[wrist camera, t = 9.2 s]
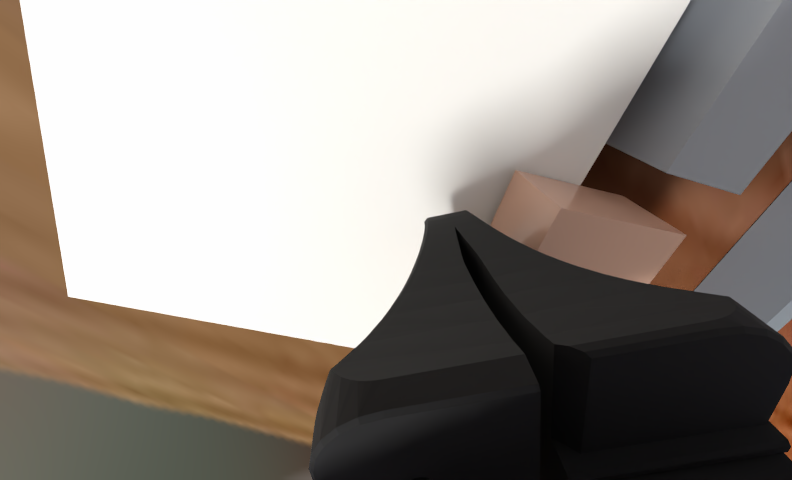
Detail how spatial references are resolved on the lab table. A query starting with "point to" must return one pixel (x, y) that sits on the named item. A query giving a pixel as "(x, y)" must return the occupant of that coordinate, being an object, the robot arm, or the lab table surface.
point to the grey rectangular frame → (760, 266)
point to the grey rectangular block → (715, 94)
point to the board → (309, 139)
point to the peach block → (586, 227)
